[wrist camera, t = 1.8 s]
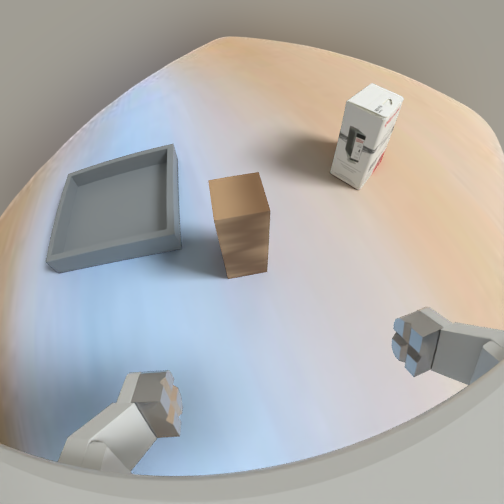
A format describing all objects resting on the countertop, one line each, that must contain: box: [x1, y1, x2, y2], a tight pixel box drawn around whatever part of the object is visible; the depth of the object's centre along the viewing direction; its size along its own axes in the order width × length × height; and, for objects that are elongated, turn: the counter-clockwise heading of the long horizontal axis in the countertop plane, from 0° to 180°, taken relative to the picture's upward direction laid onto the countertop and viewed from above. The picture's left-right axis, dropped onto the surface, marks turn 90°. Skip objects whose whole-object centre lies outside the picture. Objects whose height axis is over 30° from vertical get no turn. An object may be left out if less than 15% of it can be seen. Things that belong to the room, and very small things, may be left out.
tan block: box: [209, 172, 270, 279], centre depth 25 cm, size 4×4×10 cm
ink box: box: [330, 83, 404, 190], centre depth 31 cm, size 9×5×12 cm, turn 140°
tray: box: [46, 144, 182, 273], centre depth 31 cm, size 17×15×3 cm
